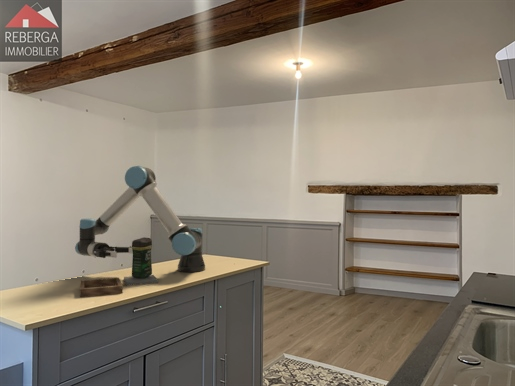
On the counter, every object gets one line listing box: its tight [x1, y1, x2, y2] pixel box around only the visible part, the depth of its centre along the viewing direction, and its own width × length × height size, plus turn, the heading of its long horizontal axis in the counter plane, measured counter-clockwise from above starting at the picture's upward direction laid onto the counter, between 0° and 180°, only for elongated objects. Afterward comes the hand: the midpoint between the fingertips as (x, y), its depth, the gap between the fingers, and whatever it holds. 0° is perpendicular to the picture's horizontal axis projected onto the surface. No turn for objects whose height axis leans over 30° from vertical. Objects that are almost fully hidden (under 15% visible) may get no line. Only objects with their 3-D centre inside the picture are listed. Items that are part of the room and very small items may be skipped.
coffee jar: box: [131, 236, 153, 278], centre depth 184 cm, size 10×8×19 cm
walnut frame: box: [79, 277, 123, 298], centre depth 164 cm, size 16×18×3 cm
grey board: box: [123, 274, 159, 286], centre depth 182 cm, size 14×13×2 cm
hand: (127, 253), depth 187 cm, fingers open, 13 cm apart
